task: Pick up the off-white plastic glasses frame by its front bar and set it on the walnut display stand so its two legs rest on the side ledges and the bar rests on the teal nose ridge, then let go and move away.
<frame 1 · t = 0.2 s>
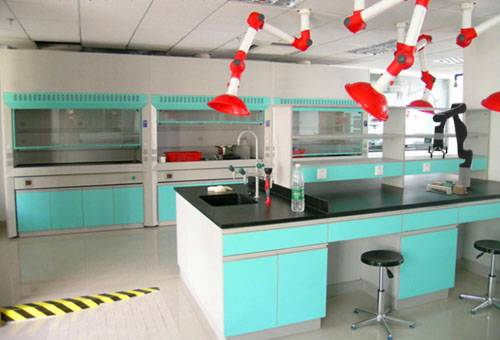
hand: (437, 158, 345), 27 cm above the worktop, fingers open, 8 cm apart
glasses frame: (438, 192, 346), on the worktop
display stand: (448, 191, 350), on the worktop
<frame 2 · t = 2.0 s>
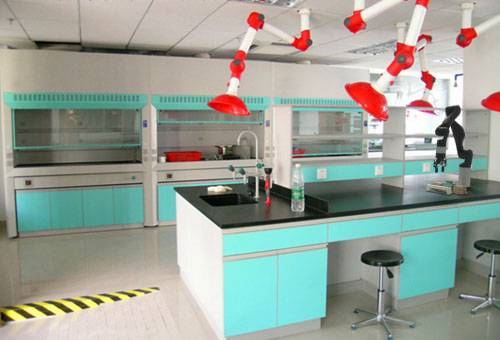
hand: (439, 172, 344), 16 cm above the worktop, fingers open, 8 cm apart
nothing on the worktop moved.
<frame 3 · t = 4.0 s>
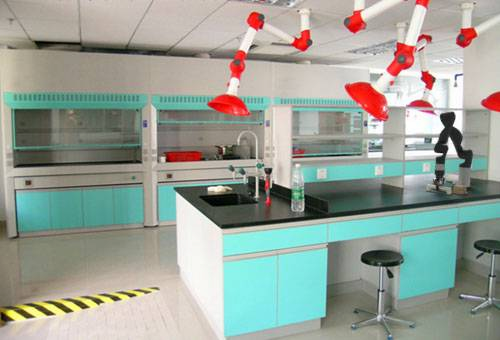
hand: (438, 190, 346), 2 cm above the worktop, fingers closed on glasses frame, 3 cm apart
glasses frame: (438, 192, 346), on the worktop, touching gripper
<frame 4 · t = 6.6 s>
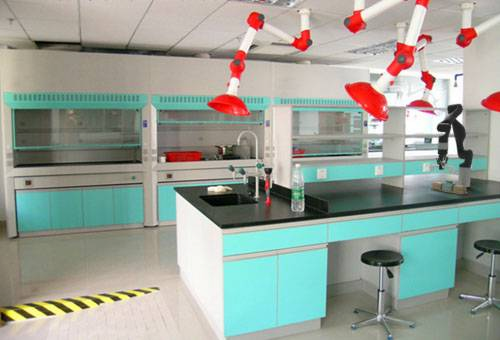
hand: (441, 169, 344), 19 cm above the worktop, fingers closed on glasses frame, 3 cm apart
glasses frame: (441, 171, 345), point 17 cm above the worktop, touching gripper
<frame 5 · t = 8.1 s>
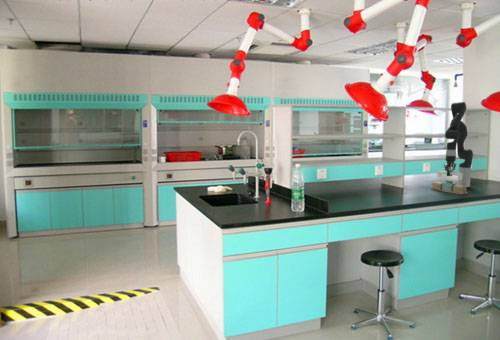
hand: (449, 175, 349), 13 cm above the worktop, fingers closed on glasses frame, 3 cm apart
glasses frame: (449, 177, 349), point 11 cm above the worktop, touching gripper
when the fingers open (9 cm above the worktop, at t = 9.2 s): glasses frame stays where it is, resting on display stand.
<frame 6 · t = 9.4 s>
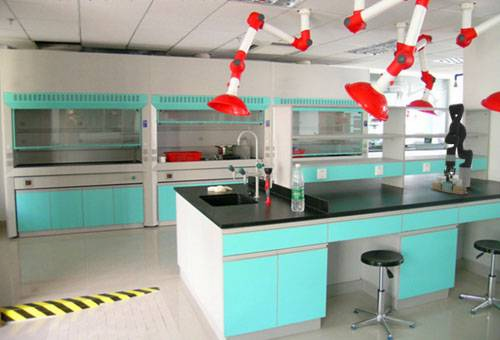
hand: (449, 180, 349), 9 cm above the worktop, fingers open, 4 cm apart
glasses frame: (449, 184, 349), point 6 cm above the worktop, touching display stand
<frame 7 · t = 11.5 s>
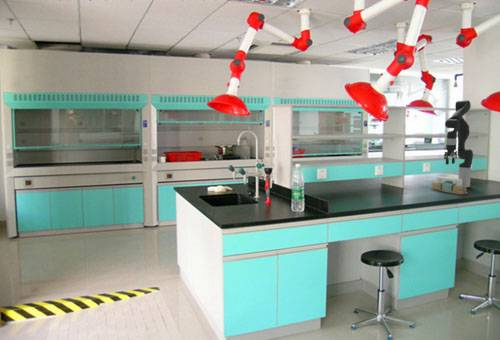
hand: (450, 163, 348), 23 cm above the worktop, fingers open, 8 cm apart
nothing on the worktop moved.
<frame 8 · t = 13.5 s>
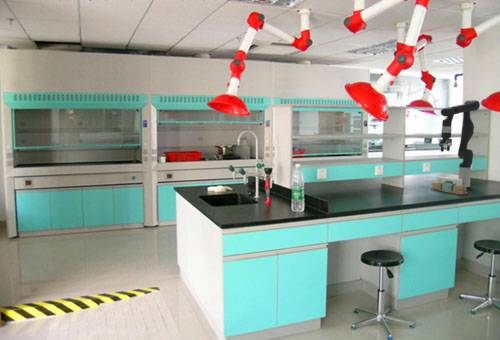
hand: (445, 151, 357), 32 cm above the worktop, fingers open, 8 cm apart
nothing on the worktop moved.
at the end: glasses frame 0.0 cm off-centre on the display stand, point 6.0 cm above the display stand's base; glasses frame tilted 0°; the gripper is holding nothing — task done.
